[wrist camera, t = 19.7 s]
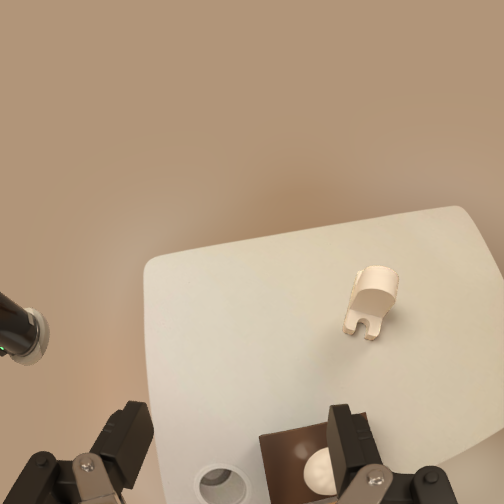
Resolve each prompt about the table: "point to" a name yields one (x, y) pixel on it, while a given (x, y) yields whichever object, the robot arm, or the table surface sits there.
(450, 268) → the table surface
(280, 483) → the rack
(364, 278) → the cream mounting bracket
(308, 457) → the milkshake
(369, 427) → the robot arm
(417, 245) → the table surface
